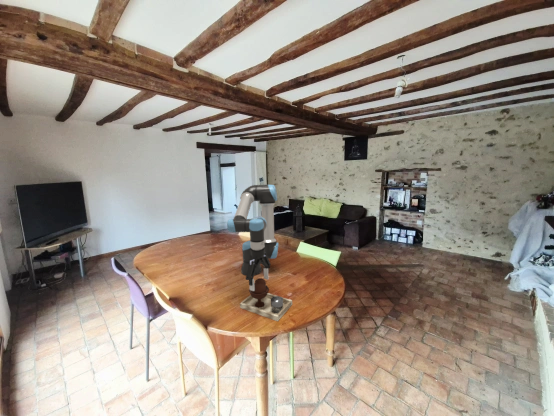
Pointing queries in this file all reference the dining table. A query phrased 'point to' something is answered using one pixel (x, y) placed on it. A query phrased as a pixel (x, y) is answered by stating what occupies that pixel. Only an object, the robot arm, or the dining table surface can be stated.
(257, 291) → the ice cream bowl
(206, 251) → the dining table surface
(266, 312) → the cream rectangular tray
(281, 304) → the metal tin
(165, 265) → the dining table surface
